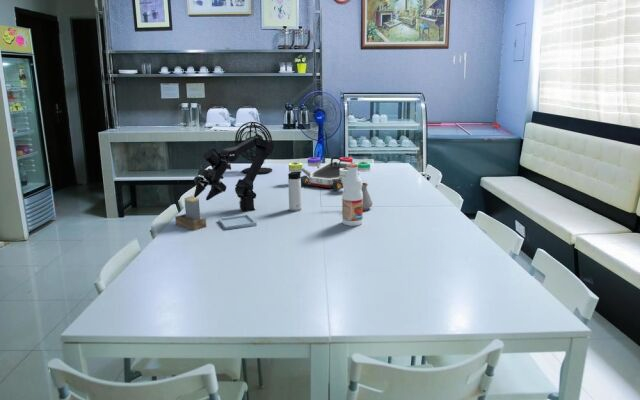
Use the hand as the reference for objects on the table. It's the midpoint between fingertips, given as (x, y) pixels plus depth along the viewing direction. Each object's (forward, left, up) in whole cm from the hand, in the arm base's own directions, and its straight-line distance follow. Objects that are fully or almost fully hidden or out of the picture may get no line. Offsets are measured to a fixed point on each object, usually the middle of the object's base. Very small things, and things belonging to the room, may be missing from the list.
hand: (200, 198), depth 242 cm
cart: (-91, -47, -12) cm, 103 cm away
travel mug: (-48, 0, -12) cm, 49 cm away
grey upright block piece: (+4, +2, -12) cm, 13 cm away
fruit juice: (-63, +33, -12) cm, 72 cm away
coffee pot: (-75, +10, -12) cm, 76 cm away
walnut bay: (+6, +3, -12) cm, 13 cm away
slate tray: (-15, +9, -12) cm, 21 cm away
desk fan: (-58, -101, -12) cm, 117 cm away
